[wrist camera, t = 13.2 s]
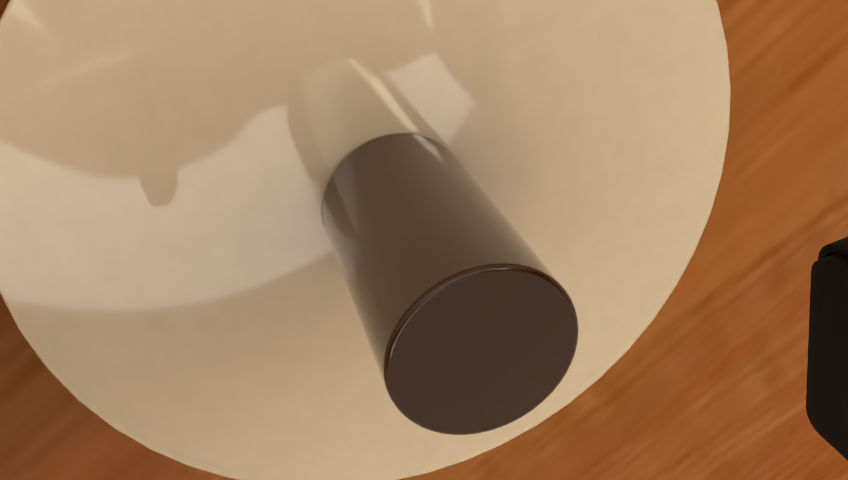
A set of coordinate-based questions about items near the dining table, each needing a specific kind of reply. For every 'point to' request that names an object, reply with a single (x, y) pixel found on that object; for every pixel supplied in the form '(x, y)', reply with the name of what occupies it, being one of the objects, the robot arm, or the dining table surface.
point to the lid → (349, 214)
